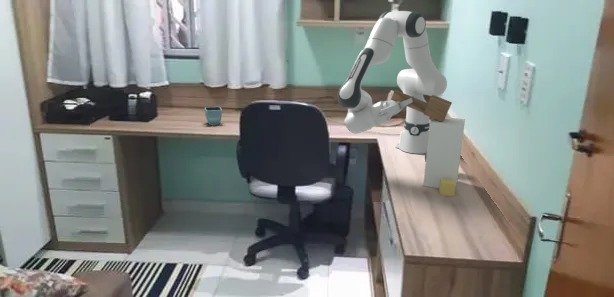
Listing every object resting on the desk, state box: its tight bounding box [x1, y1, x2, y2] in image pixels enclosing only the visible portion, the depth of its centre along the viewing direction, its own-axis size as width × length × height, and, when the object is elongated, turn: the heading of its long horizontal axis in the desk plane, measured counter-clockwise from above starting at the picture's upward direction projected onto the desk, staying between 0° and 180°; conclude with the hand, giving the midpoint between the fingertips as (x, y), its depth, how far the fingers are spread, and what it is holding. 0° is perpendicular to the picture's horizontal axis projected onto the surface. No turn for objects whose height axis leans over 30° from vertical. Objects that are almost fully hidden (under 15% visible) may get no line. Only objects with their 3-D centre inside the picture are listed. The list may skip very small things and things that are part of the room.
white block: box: [423, 116, 466, 189], centre depth 198 cm, size 12×12×26 cm
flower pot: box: [204, 106, 223, 126], centre depth 279 cm, size 9×9×9 cm
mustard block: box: [438, 179, 457, 197], centre depth 191 cm, size 5×5×5 cm
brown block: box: [390, 90, 453, 122], centre depth 196 cm, size 7×22×7 cm, turn 69°
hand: (413, 98), depth 197 cm, fingers closed on brown block, 3 cm apart
